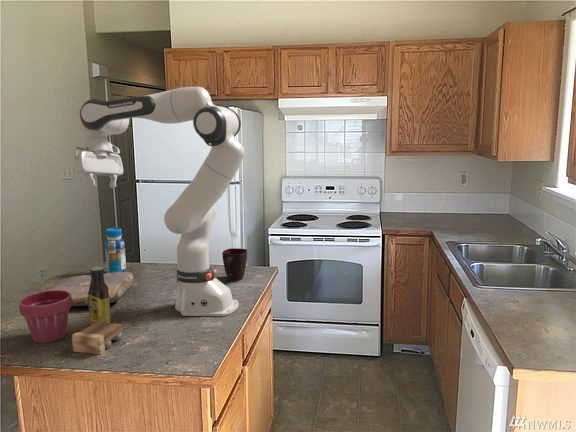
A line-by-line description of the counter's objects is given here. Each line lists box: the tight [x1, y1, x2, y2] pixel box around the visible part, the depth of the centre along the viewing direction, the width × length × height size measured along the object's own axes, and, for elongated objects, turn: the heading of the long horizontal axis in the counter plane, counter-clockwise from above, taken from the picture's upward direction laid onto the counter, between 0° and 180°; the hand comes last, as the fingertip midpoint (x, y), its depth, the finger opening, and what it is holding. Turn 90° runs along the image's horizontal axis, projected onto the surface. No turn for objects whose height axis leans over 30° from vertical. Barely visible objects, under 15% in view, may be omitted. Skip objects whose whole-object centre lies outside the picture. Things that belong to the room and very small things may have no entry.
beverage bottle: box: [104, 227, 127, 273], centre depth 213 cm, size 8×8×20 cm
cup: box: [221, 247, 248, 282], centre depth 203 cm, size 10×14×12 cm
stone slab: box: [45, 271, 135, 307], centre depth 184 cm, size 31×29×6 cm
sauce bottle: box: [88, 266, 111, 326], centre depth 154 cm, size 6×6×20 cm
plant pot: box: [18, 290, 73, 344], centre depth 148 cm, size 14×14×13 cm
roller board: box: [71, 322, 124, 355], centre depth 143 cm, size 9×11×5 cm
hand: (103, 187), depth 170 cm, fingers open, 8 cm apart
